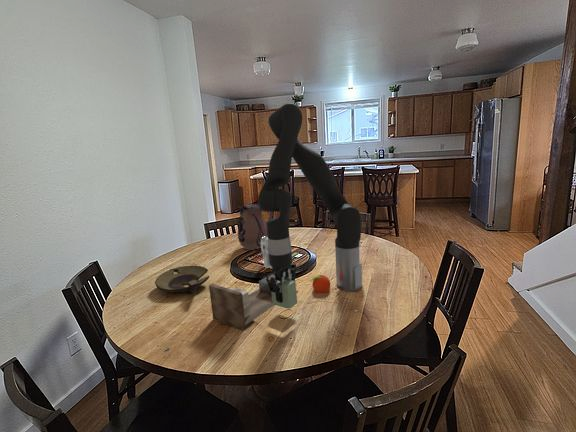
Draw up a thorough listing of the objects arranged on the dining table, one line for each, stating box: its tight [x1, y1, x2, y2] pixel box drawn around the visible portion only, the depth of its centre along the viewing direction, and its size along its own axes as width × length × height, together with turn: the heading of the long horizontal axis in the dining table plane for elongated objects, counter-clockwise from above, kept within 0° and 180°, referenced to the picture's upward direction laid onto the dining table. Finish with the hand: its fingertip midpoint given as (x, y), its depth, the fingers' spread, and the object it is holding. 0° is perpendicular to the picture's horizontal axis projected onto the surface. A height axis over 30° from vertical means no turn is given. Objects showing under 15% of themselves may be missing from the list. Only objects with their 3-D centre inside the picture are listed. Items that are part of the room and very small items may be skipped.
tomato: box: [310, 274, 331, 294], centre depth 123 cm, size 8×7×7 cm
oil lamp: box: [154, 265, 210, 293], centre depth 135 cm, size 22×30×8 cm
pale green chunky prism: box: [271, 279, 298, 310], centre depth 106 cm, size 7×4×8 cm, turn 55°
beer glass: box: [260, 237, 272, 269], centre depth 150 cm, size 7×7×15 cm
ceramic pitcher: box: [237, 203, 274, 251], centre depth 182 cm, size 18×21×25 cm
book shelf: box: [208, 283, 275, 332], centre depth 116 cm, size 14×30×13 cm, turn 143°
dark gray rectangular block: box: [258, 275, 272, 295], centre depth 124 cm, size 10×6×4 cm, turn 53°
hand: (284, 298), depth 106 cm, fingers closed on pale green chunky prism, 4 cm apart
